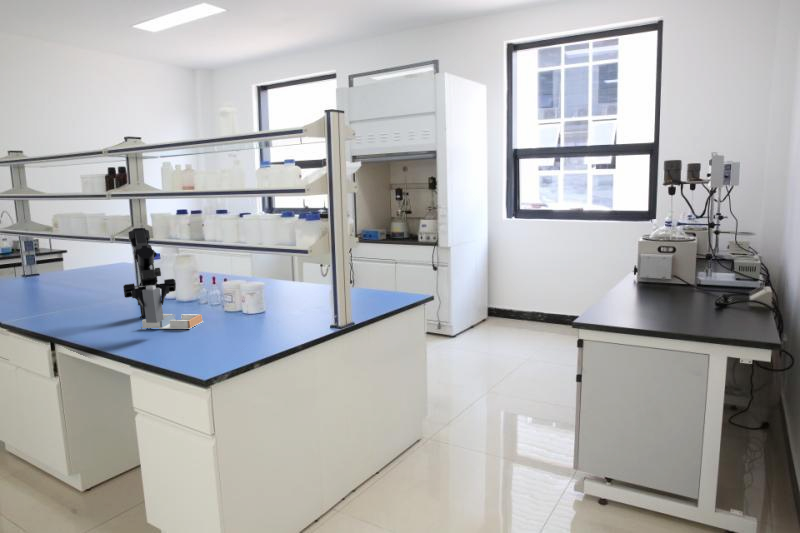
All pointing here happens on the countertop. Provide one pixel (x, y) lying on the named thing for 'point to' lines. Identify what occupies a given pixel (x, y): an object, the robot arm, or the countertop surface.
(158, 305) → the grey pedestal with block
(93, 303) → the countertop surface
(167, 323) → the white tray with rails
